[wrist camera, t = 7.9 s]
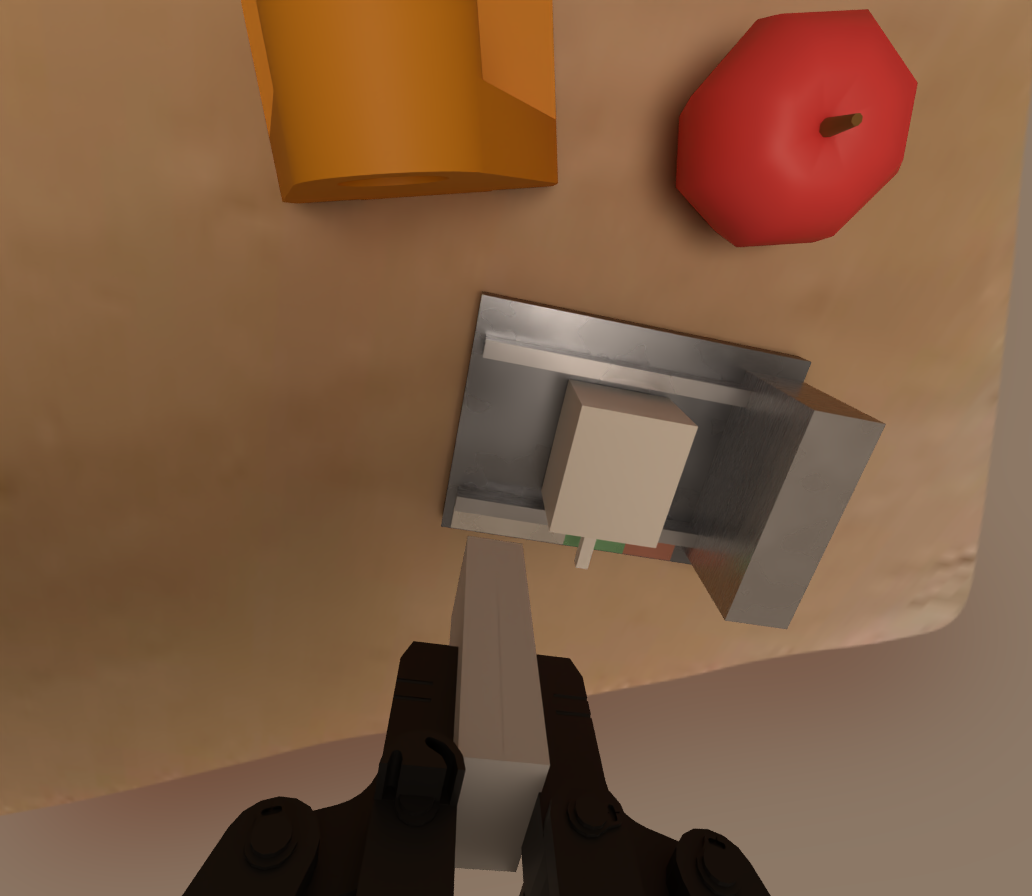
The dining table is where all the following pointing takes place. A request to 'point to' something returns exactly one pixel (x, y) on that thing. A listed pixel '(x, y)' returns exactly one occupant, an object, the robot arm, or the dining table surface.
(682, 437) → the cream block with peg
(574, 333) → the gauge base
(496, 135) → the bracket
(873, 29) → the apple
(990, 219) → the dining table surface
